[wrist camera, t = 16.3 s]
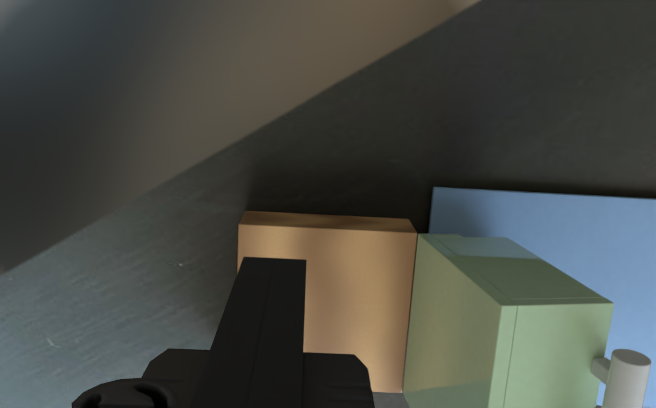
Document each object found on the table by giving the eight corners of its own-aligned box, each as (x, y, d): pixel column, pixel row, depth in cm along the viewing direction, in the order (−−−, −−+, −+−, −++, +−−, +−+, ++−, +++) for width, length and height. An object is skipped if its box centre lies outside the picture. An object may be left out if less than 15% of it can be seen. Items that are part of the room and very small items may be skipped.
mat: (411, 395, 44) (412, 398, 44) (432, 186, 41) (433, 187, 40) (761, 409, 45) (765, 412, 45) (813, 206, 42) (818, 208, 41)
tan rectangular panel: (409, 218, 41) (417, 233, 38) (395, 367, 44) (401, 393, 40) (244, 210, 41) (238, 224, 37) (240, 361, 43) (234, 386, 40)
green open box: (417, 233, 38) (509, 233, 39) (402, 393, 40) (487, 389, 42) (533, 333, 24) (667, 328, 25) (498, 564, 27) (621, 550, 28)
